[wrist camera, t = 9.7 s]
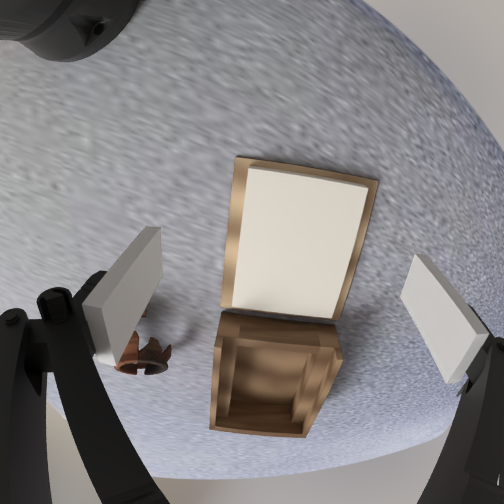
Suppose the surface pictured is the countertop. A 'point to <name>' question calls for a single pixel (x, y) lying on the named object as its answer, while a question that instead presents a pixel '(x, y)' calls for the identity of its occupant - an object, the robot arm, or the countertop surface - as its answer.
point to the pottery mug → (143, 356)
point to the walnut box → (271, 374)
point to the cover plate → (295, 241)
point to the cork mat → (236, 221)
